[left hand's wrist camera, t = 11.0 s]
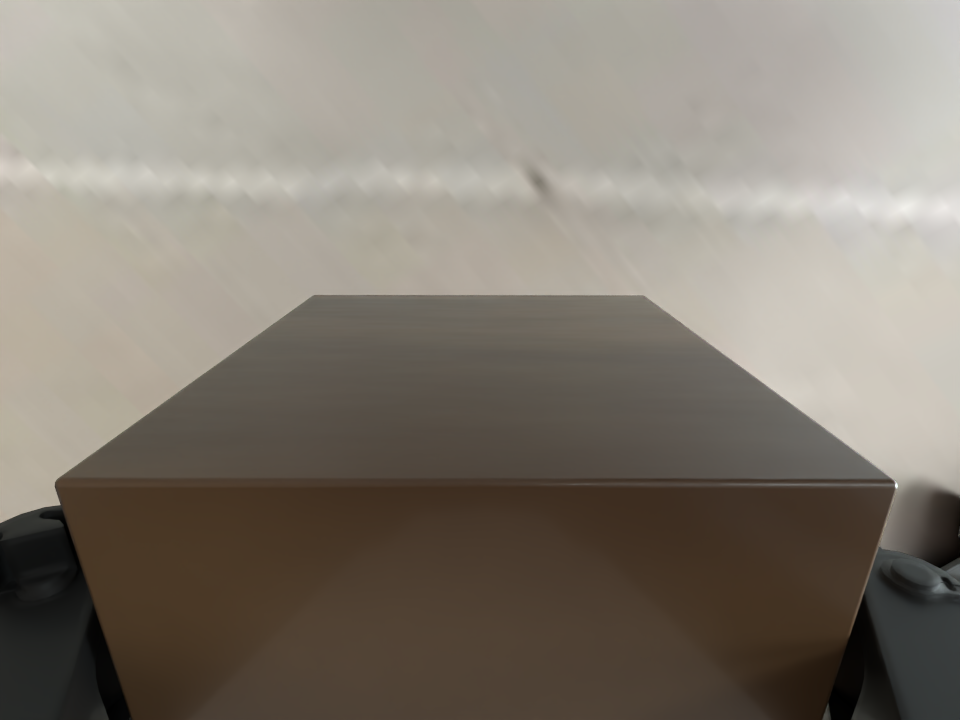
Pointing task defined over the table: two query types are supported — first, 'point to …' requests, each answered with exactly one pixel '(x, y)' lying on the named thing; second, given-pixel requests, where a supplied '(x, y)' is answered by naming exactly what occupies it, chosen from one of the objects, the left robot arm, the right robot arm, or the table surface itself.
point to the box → (476, 524)
